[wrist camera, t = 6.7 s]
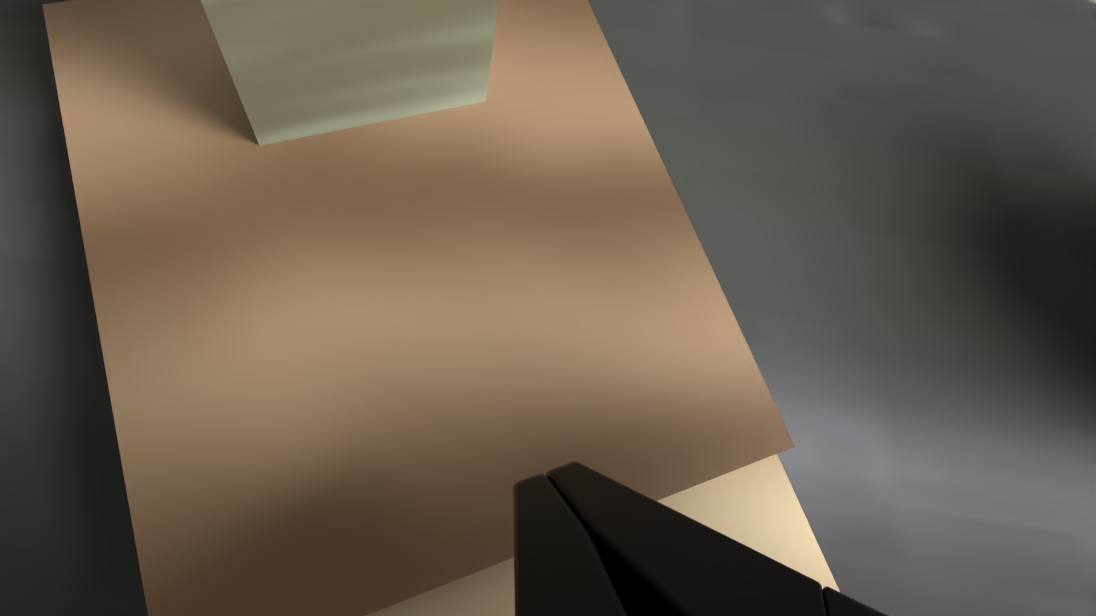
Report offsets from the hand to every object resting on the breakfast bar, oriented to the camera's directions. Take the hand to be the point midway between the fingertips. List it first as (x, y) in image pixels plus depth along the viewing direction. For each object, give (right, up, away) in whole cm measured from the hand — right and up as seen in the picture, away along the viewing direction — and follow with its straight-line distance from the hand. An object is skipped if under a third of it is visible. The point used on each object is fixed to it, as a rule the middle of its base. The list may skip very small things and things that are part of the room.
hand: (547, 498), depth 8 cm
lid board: (-3, +4, +6) cm, 8 cm away
